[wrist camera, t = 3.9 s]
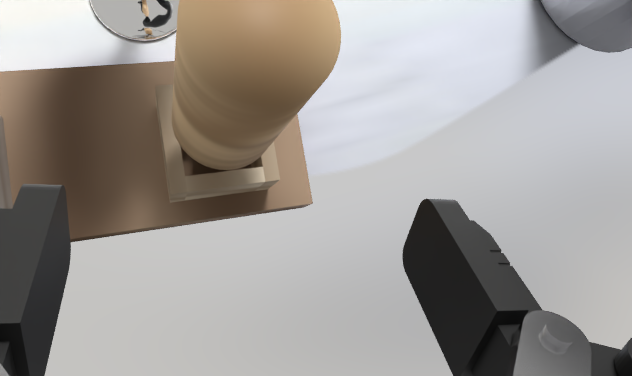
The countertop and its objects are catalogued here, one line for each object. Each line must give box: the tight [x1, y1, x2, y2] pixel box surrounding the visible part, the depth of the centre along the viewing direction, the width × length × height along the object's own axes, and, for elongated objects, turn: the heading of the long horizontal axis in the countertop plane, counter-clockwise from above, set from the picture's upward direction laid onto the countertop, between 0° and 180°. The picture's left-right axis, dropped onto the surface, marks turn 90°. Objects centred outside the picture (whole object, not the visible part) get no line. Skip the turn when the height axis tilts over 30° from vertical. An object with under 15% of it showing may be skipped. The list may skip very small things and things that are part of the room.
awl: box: [172, 0, 341, 170], centre depth 17 cm, size 4×4×12 cm
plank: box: [0, 61, 313, 242], centre depth 21 cm, size 18×7×4 cm, turn 100°
